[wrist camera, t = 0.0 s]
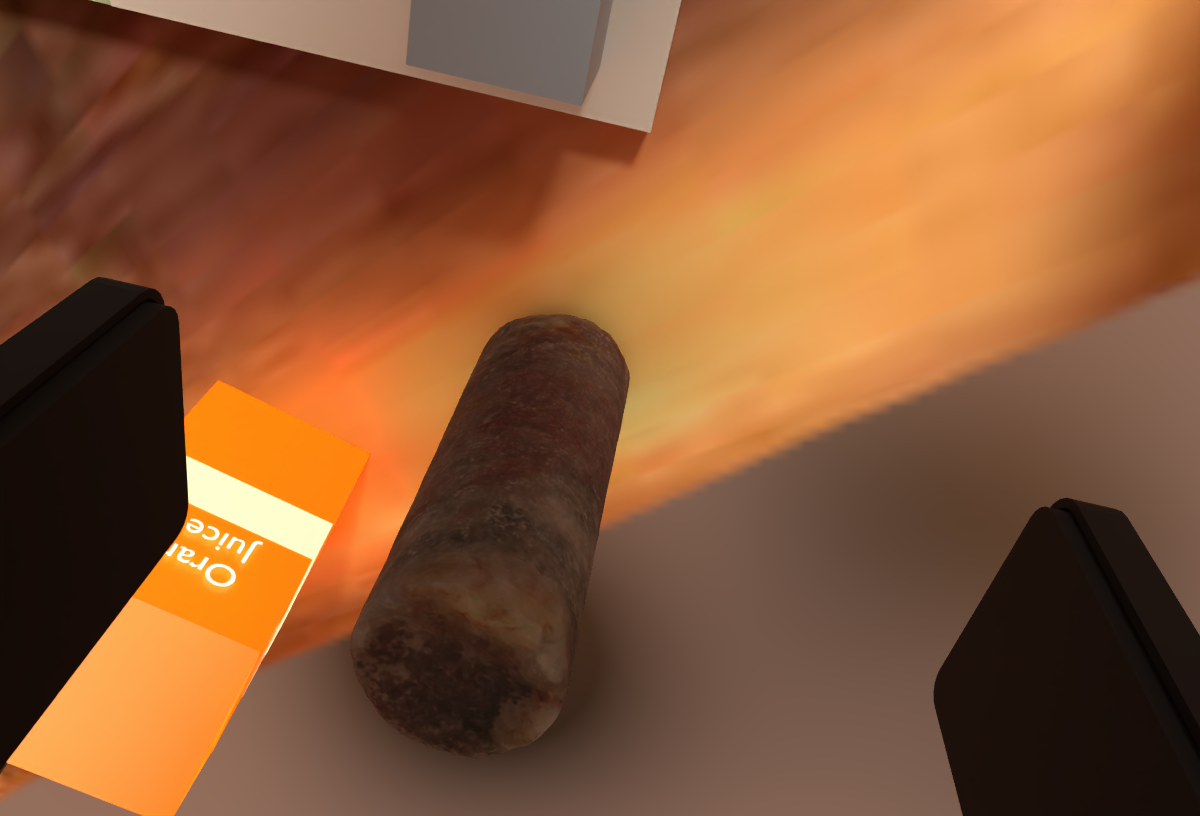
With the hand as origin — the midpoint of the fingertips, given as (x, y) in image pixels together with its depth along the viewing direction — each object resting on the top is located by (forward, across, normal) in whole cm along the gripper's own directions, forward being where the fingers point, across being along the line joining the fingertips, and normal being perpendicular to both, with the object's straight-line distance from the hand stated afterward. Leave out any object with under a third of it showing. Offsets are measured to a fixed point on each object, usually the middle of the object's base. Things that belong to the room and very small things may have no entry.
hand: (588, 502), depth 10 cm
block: (+29, +6, -1) cm, 30 cm away
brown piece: (+31, +2, +17) cm, 36 cm away
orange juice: (+31, +16, +27) cm, 44 cm away
